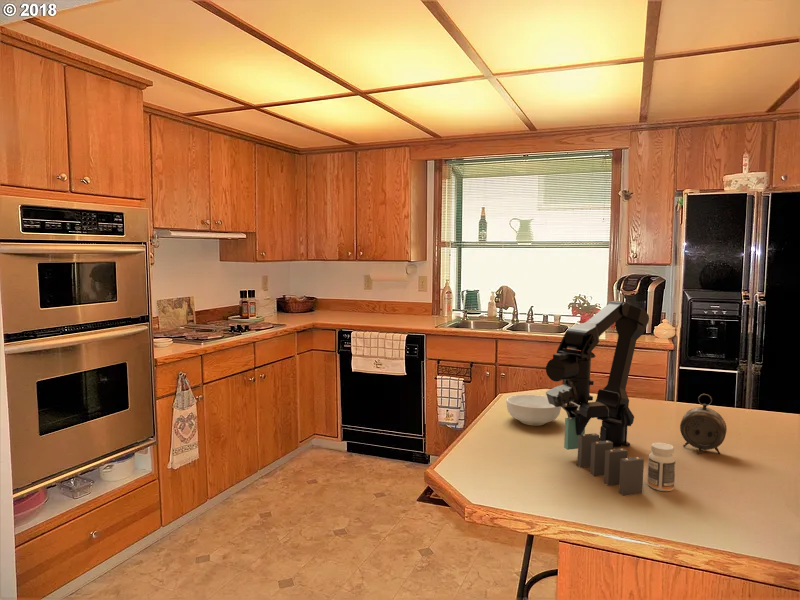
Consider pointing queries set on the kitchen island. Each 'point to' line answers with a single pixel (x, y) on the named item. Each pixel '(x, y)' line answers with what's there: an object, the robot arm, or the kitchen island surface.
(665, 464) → the pill bottle
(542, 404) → the cereal bowl
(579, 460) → the domino
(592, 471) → the domino
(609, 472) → the domino
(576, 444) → the domino
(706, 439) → the alarm clock
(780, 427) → the kitchen island surface
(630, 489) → the domino
